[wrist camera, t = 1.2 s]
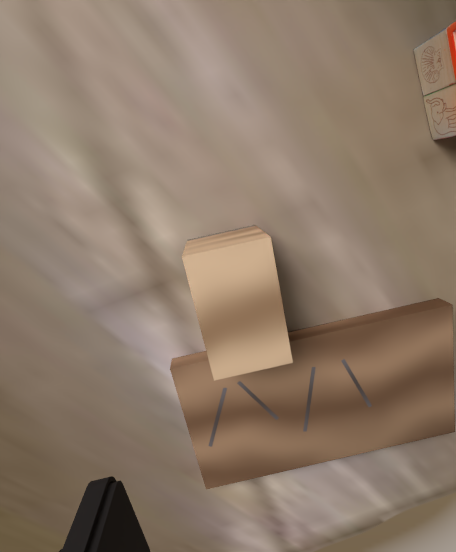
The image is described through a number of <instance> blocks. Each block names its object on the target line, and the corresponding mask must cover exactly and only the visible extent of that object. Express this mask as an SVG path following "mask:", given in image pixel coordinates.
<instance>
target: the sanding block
mask: <svg viewBox="0 0 456 552" xmlns="http://www.w3.org/2000/svg"><path fill="white" fill-rule="evenodd" d="M182 259H183V263H184V267H185V270H186V274H187V278H188V282H189V286H190V290H191V294H192V297H193V301H194V305H195V309H196V313H197V317H198V321H199V324H200V328H201V332H202V336H203V340H204V344H205V348H206V352H207V355H208V359H209V363H210V367H211V371H212V375H213V379H214V381H215V380H219V379H224V378H228V377H232V376H237V375H241V374H246V373H250V372H254V371H259V370H263V369H268V368H272V367H276V366H281V365H285V364H290V363H293V360H292V354H291V349H290V343H289V338H288V332H287V326H286V321H285V315H284V309H283V304H282V298H281V292H280V287H279V281H278V275H277V270H276V264H275V258H274V253H273V247H272V241H271V237H270V236H269V235H267V234H266V233H265V232H263V231H262V230H261V229H259V228H258V227H257V226H255V225H252V226H248V227H243V228H239V229H235V230H230V231H226V232H221V233H217V234H212V235H208V236H203V237H199V238H194V239H190V240H187V243H186V246H185V249H184V252H183V255H182Z"/></svg>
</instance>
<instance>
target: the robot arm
mask: <svg viewBox="0 0 456 552" xmlns="http://www.w3.org/2000/svg"><path fill="white" fill-rule="evenodd" d="M59 552H150V549H149V546H148V544H147V542H146V539H145V537H144V534H143V532H142V529H141V527H140V525H139V522H138V520H137V517H136V515H135V512H134V510H133V508H132V505H131V503H130V500H129V498H128V495H127V493H126V490H125V488H124V486H123V483H122V482H121V481H116V480H115V478H114V477H113V476H112V477H108V478H103V479H99V480H95V481H91V482H90V483H89V484H88V486H87V488H86V491H85V493H84V496H83V498H82V501H81V503H80V506H79V508H78V511H77V513H76V516H75V519H74V521H73V524H72V526H71V529H70V531H69V534H68V536H67V539H66V541H65V544H64V547H63V549H61V550H60V551H59Z"/></svg>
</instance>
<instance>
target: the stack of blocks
mask: <svg viewBox="0 0 456 552" xmlns="http://www.w3.org/2000/svg"><path fill="white" fill-rule="evenodd" d="M414 54H415V59H416V65H417V70H418V74H419V79H420V83H421V88H422V92H423V95H424V104H425V109H426V114H427V118H428V122H429V127H430V131H431V135H432V138H433V140H437V139H443V138H449V137H453V136H456V21H455V22H454V23H452V24H451V25H449V26H448V27H447V28H445V29H444V30H442V31H441V32H439V33H438V34H436V35H435V36H433V37H432V38H430V39H429V40H427V41H426V42H424V43H423V44H421V45H419V46H418V47H416V48H415V49H414Z"/></svg>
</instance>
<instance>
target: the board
mask: <svg viewBox="0 0 456 552" xmlns="http://www.w3.org/2000/svg"><path fill="white" fill-rule="evenodd" d="M288 338H289V343H290V349H291V354H292V360H293V363H290V364H285V365H281V366H276V367H272V368H268V369H263V370H259V371H254V372H250V373H246V374H241V375H237V376H232V377H228V378H224V379H219V380H215V381H214V379H213V375H212V371H211V367H210V363H209V359H208V355H207V352H206V351H204V352H200V353H195V354H191V355H186V356H182V357H178V358H173V359H172V362H171V367H170V370H171V373H172V377H173V380H174V383H175V387H176V390H177V393H178V397H179V400H180V403H181V407H182V410H183V413H184V417H185V420H186V423H187V427H188V430H189V433H190V437H191V440H192V443H193V447H194V450H195V453H196V457H197V460H198V463H199V467H200V470H201V473H202V477H203V480H204V483H205V487H206V489H210V488H214V487H218V486H223V485H227V484H231V483H236V482H240V481H244V480H249V479H253V478H257V477H262V476H266V475H270V474H274V473H279V472H283V471H287V470H292V469H296V468H300V467H305V466H309V465H313V464H318V463H322V462H326V461H331V460H335V459H339V458H344V457H348V456H352V455H357V454H361V453H365V452H370V451H374V450H378V449H383V448H387V447H391V446H395V445H400V444H404V443H408V442H413V441H417V440H421V439H426V438H430V437H434V436H439V435H443V434H447V433H452V432H455V414H454V360H453V307H452V304H450V303H448V302H446V301H443V300H441V299H439V298H437V299H433V300H429V301H424V302H420V303H415V304H411V305H407V306H402V307H398V308H393V309H389V310H385V311H380V312H376V313H371V314H367V315H363V316H358V317H354V318H349V319H345V320H341V321H336V322H332V323H327V324H323V325H319V326H314V327H310V328H305V329H301V330H297V331H292V332H288Z"/></svg>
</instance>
